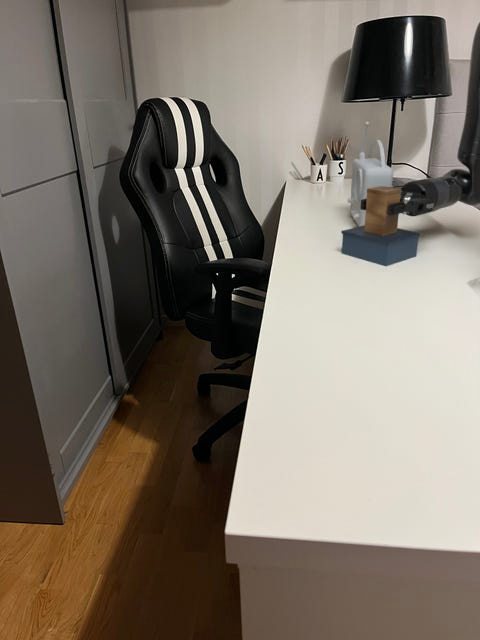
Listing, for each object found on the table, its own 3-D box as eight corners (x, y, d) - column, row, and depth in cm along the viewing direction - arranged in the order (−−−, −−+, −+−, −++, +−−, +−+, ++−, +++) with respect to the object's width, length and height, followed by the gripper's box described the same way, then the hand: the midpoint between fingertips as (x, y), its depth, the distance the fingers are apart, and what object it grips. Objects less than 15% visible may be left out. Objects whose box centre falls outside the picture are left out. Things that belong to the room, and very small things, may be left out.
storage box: (417, 256, 106) (420, 233, 104) (386, 266, 100) (388, 242, 98) (371, 244, 115) (373, 222, 113) (340, 253, 110) (341, 230, 107)
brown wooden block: (397, 232, 105) (401, 188, 101) (383, 236, 103) (387, 191, 99) (377, 228, 109) (381, 185, 105) (363, 231, 106) (366, 188, 103)
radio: (343, 213, 144) (348, 120, 134) (372, 213, 144) (380, 120, 133) (355, 233, 124) (362, 125, 114) (389, 232, 124) (399, 124, 114)
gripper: (399, 175, 115) (349, 184, 106) (456, 182, 104) (406, 193, 95) (395, 208, 118) (347, 219, 109) (451, 218, 107) (402, 232, 98)
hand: (375, 207), depth 102 cm, fingers open, 6 cm apart
